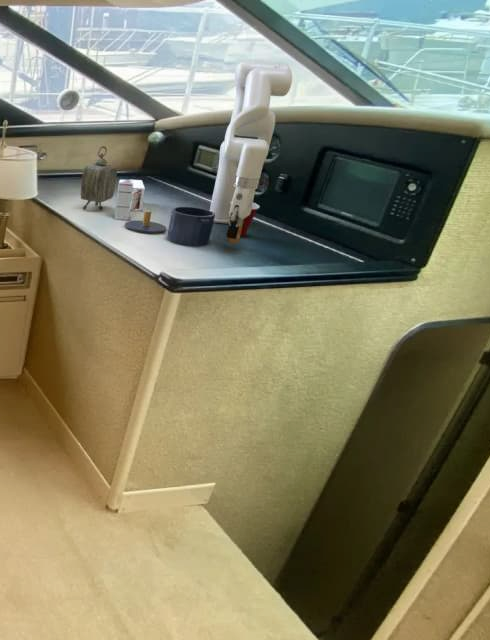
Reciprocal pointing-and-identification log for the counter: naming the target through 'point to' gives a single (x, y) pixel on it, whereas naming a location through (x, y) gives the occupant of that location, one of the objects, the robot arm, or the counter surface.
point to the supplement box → (238, 231)
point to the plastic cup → (248, 218)
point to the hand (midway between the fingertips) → (233, 235)
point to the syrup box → (124, 199)
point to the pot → (190, 226)
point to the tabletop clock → (98, 181)
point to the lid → (145, 224)
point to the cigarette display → (137, 195)
